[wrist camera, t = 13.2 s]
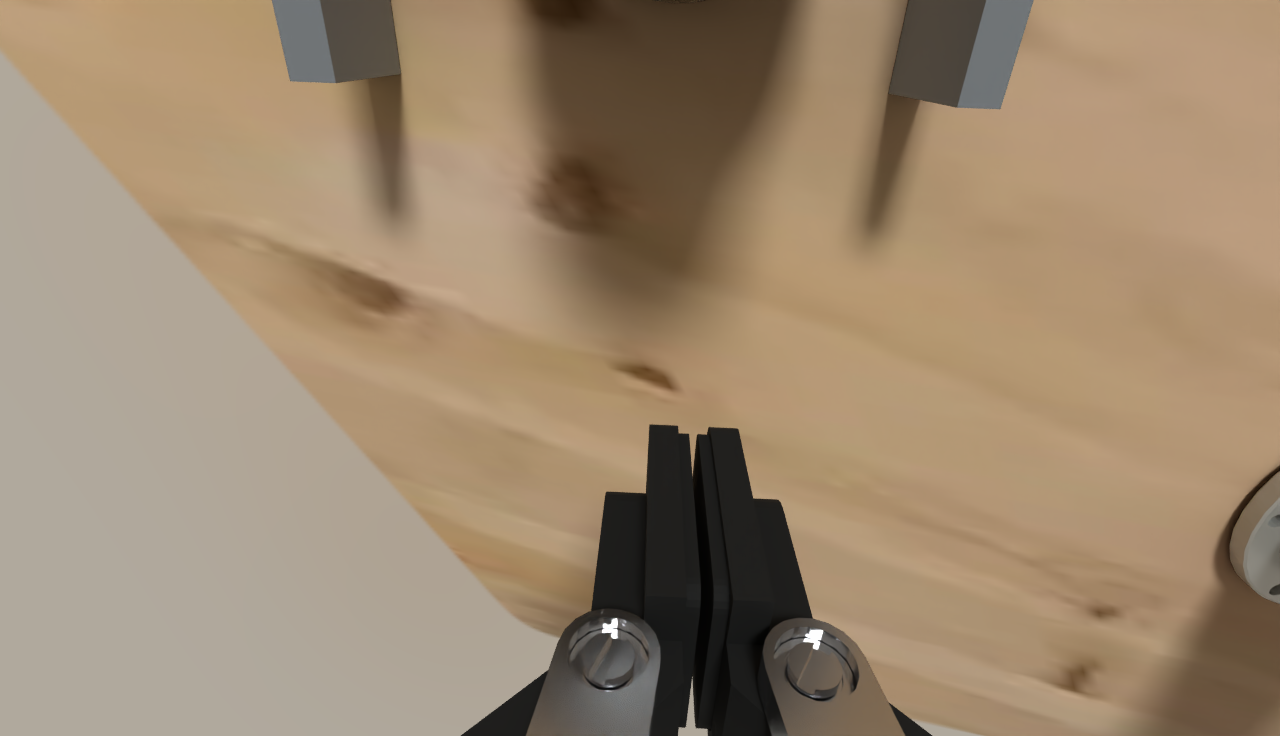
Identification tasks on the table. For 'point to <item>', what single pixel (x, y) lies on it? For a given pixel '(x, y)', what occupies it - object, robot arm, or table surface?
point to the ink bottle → (679, 1)
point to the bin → (924, 69)
